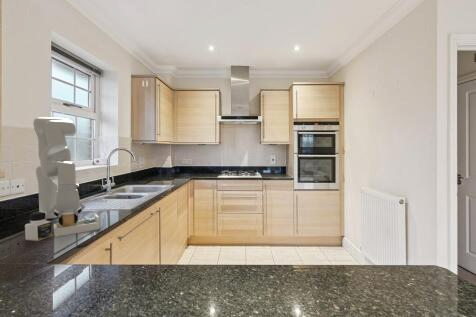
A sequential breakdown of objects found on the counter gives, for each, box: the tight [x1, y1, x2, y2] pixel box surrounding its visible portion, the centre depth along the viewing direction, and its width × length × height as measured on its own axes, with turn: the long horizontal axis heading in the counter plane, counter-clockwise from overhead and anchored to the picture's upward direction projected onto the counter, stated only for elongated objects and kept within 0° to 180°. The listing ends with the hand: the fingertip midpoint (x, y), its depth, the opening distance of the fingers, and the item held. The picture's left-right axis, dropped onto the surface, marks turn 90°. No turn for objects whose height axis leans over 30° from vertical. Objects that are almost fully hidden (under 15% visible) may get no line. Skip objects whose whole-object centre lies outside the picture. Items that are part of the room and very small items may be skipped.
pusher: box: [83, 216, 95, 224], centre depth 141 cm, size 8×4×4 cm, turn 36°
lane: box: [53, 213, 101, 237], centre depth 138 cm, size 11×19×6 cm, turn 126°
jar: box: [61, 210, 75, 227], centre depth 136 cm, size 6×6×8 cm
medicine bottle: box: [24, 211, 53, 242], centre depth 126 cm, size 7×7×12 cm
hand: (68, 223), depth 136 cm, fingers closed on jar, 5 cm apart
